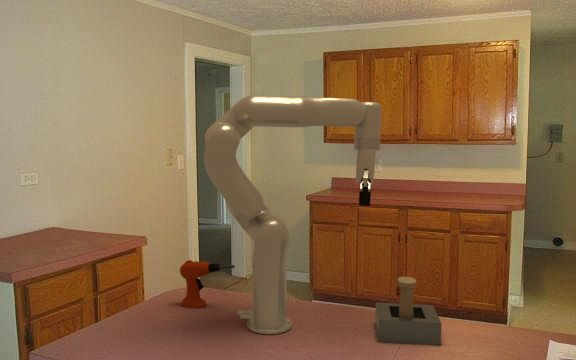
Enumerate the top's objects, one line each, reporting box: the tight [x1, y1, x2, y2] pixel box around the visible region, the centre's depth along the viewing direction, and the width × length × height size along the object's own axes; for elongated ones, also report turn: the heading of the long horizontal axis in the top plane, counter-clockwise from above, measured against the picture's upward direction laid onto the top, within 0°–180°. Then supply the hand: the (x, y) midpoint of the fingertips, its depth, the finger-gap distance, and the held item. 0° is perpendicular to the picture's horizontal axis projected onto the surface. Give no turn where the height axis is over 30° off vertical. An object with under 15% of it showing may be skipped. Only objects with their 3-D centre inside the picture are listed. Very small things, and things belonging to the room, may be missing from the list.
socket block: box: [374, 302, 442, 346], centre depth 139 cm, size 16×14×6 cm
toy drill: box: [179, 259, 235, 309], centre depth 160 cm, size 5×19×15 cm, turn 78°
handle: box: [397, 276, 417, 318], centre depth 139 cm, size 5×6×15 cm
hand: (364, 203), depth 149 cm, fingers open, 9 cm apart
